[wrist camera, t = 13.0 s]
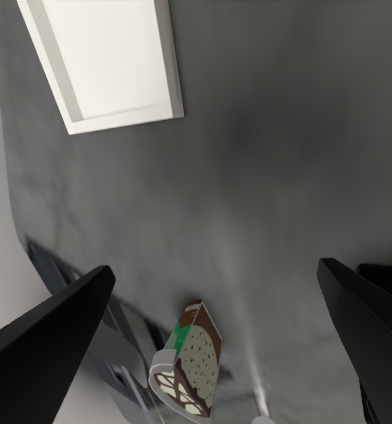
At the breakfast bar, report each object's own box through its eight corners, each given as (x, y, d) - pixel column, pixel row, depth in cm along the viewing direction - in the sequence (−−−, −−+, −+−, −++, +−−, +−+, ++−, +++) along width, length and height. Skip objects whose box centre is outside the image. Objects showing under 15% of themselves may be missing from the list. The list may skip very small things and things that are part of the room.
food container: (165, 293, 31) (127, 361, 22) (198, 292, 28) (168, 369, 20) (194, 342, 35) (171, 416, 26) (226, 346, 32) (211, 429, 23)
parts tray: (155, -88, 12) (132, -129, 10) (184, 116, 17) (172, 117, 15) (37, -16, 16) (3, -34, 14) (88, 132, 22) (69, 134, 20)
